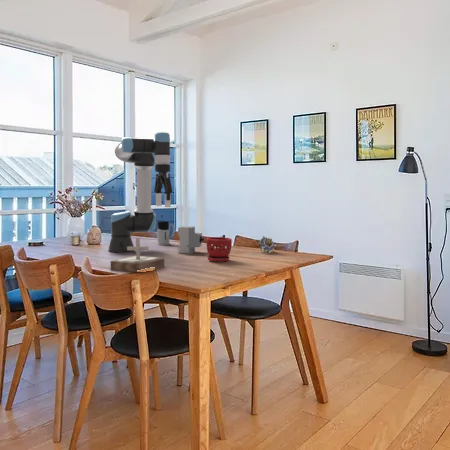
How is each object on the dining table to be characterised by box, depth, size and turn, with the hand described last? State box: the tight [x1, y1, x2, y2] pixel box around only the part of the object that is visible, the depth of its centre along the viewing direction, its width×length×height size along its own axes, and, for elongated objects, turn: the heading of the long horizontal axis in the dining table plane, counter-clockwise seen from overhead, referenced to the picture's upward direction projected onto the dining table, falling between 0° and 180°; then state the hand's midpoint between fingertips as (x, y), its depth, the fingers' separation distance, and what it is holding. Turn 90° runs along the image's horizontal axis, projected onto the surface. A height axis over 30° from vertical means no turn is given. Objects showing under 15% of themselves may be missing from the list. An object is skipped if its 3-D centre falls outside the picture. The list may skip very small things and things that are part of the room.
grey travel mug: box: [156, 221, 175, 246], centre depth 314 cm, size 9×14×15 cm, turn 54°
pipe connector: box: [127, 237, 150, 259], centre depth 225 cm, size 10×10×10 cm
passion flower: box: [256, 235, 277, 255], centre depth 275 cm, size 11×11×12 cm
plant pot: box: [206, 236, 233, 263], centre depth 246 cm, size 13×13×12 cm
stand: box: [110, 255, 165, 272], centre depth 225 cm, size 18×18×4 cm
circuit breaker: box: [177, 225, 205, 254], centre depth 276 cm, size 8×14×15 cm, turn 78°
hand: (163, 206), depth 237 cm, fingers open, 13 cm apart
